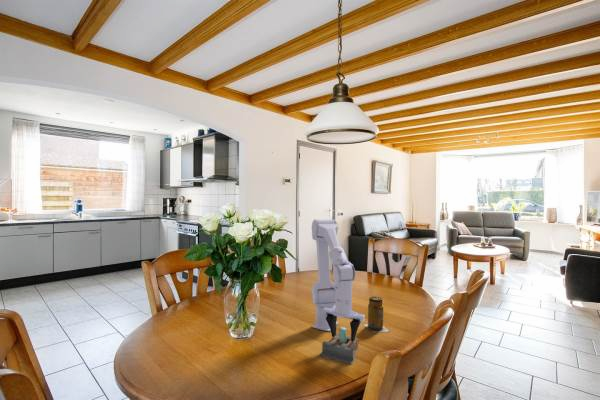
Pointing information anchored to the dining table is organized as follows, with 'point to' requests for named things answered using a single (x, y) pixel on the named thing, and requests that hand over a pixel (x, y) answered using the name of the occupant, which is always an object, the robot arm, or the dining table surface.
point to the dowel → (343, 335)
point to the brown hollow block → (349, 344)
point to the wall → (338, 352)
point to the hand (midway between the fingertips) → (343, 338)
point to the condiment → (375, 315)
